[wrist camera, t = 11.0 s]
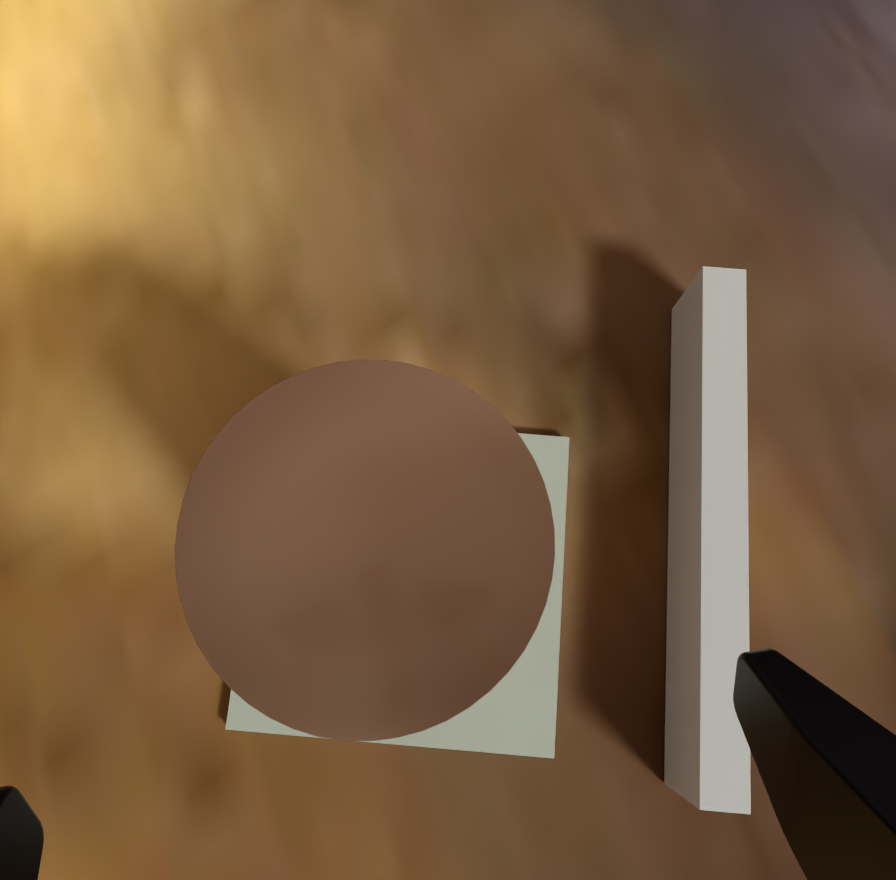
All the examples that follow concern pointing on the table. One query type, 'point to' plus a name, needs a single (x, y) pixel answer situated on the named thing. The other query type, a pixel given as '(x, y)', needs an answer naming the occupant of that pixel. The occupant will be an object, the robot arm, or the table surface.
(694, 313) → the low wall
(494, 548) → the tan round cylinder
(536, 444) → the tile
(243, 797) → the table surface
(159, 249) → the table surface
